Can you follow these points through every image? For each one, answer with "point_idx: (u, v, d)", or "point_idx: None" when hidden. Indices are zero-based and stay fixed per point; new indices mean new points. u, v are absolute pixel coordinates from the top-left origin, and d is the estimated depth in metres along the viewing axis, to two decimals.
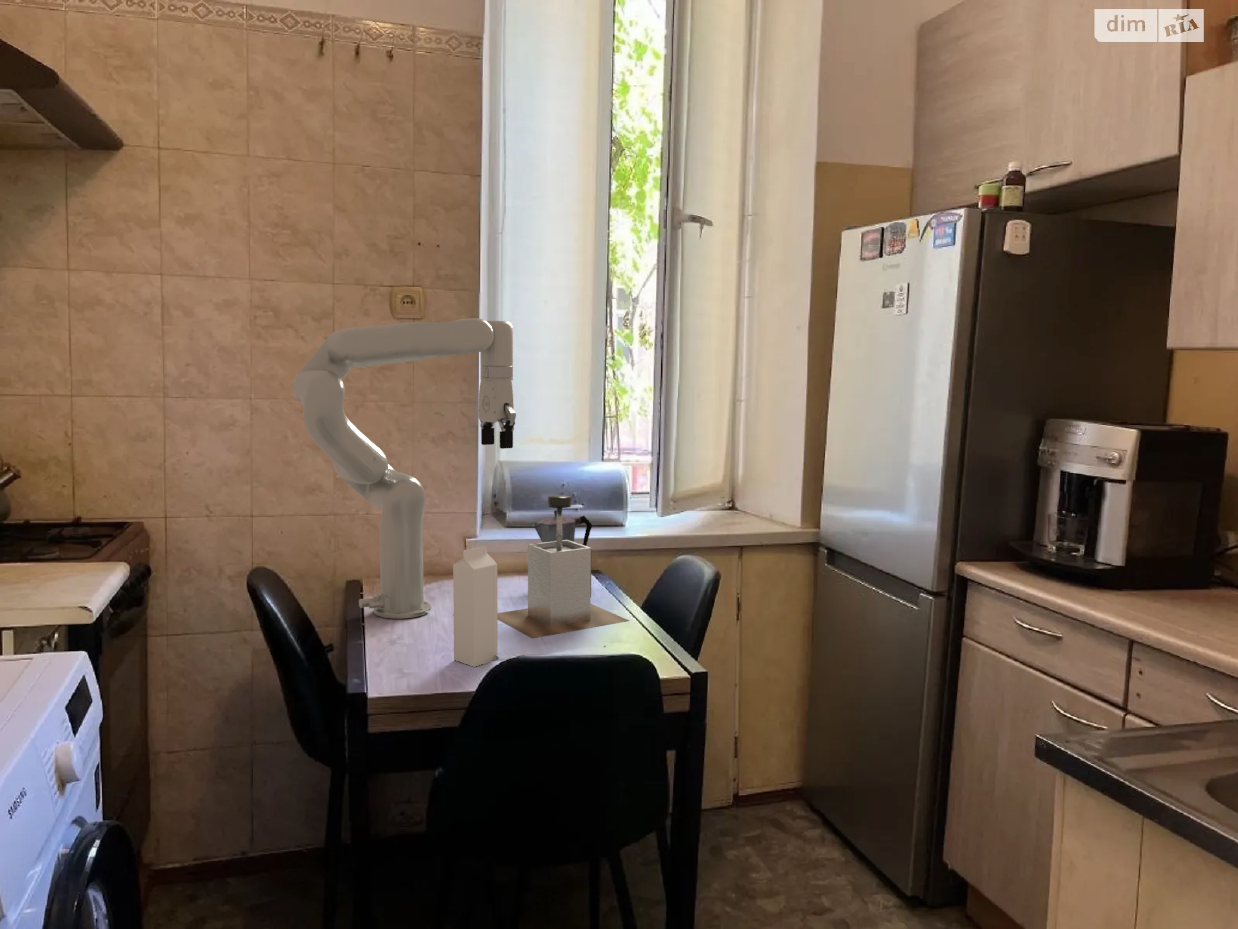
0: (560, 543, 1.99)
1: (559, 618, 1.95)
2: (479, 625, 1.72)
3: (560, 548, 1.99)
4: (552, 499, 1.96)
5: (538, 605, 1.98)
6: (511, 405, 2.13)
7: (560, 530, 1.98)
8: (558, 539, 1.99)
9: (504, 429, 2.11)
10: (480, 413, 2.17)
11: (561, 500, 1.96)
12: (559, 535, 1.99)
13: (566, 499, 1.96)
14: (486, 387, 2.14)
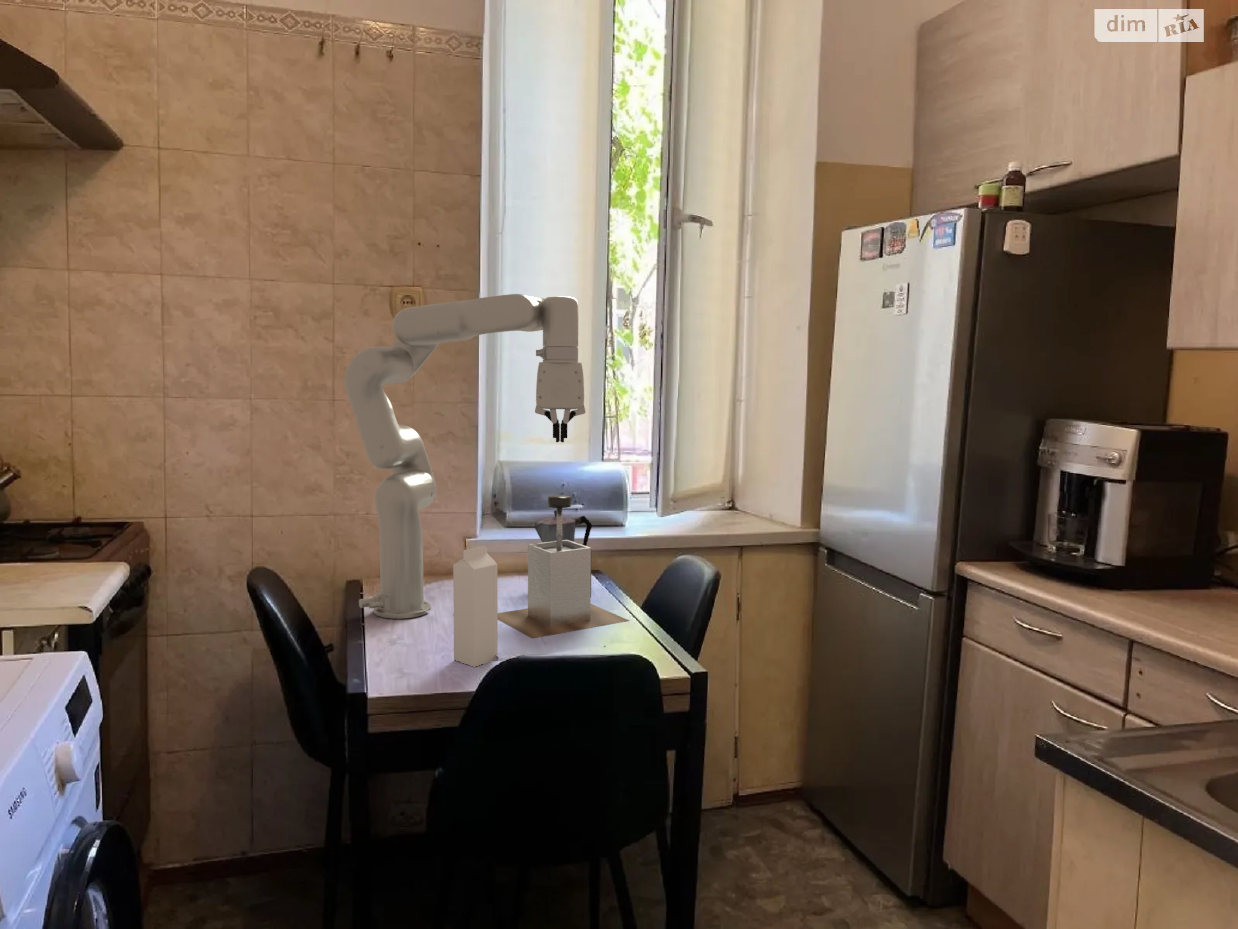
0: (560, 543, 1.99)
1: (559, 618, 1.95)
2: (479, 625, 1.72)
3: (560, 548, 1.99)
4: (552, 499, 1.96)
5: (538, 605, 1.98)
6: None
7: (560, 530, 1.98)
8: (558, 539, 1.99)
9: (567, 422, 1.95)
10: (545, 400, 1.93)
11: (561, 500, 1.96)
12: (559, 535, 1.99)
13: (566, 499, 1.96)
14: (559, 370, 1.92)
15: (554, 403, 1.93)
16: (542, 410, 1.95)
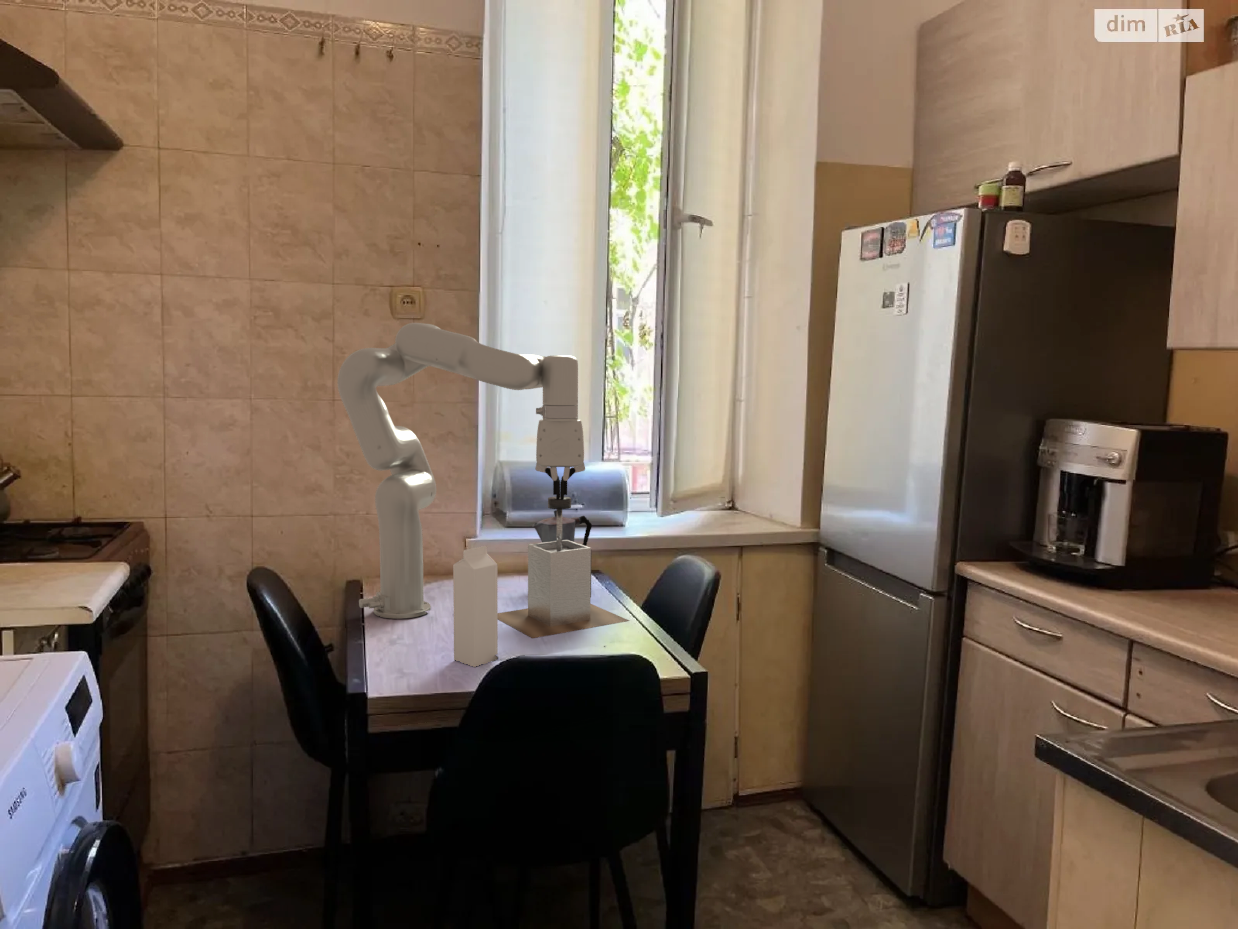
0: (560, 545, 1.99)
1: (559, 618, 1.95)
2: (479, 625, 1.72)
3: (560, 549, 1.99)
4: (552, 500, 1.96)
5: (538, 605, 1.98)
6: None
7: (560, 531, 1.98)
8: (558, 540, 1.99)
9: None
10: (545, 458, 1.94)
11: (561, 501, 1.96)
12: (559, 536, 1.99)
13: (566, 500, 1.96)
14: (559, 428, 1.94)
15: (554, 461, 1.94)
16: (542, 467, 1.97)
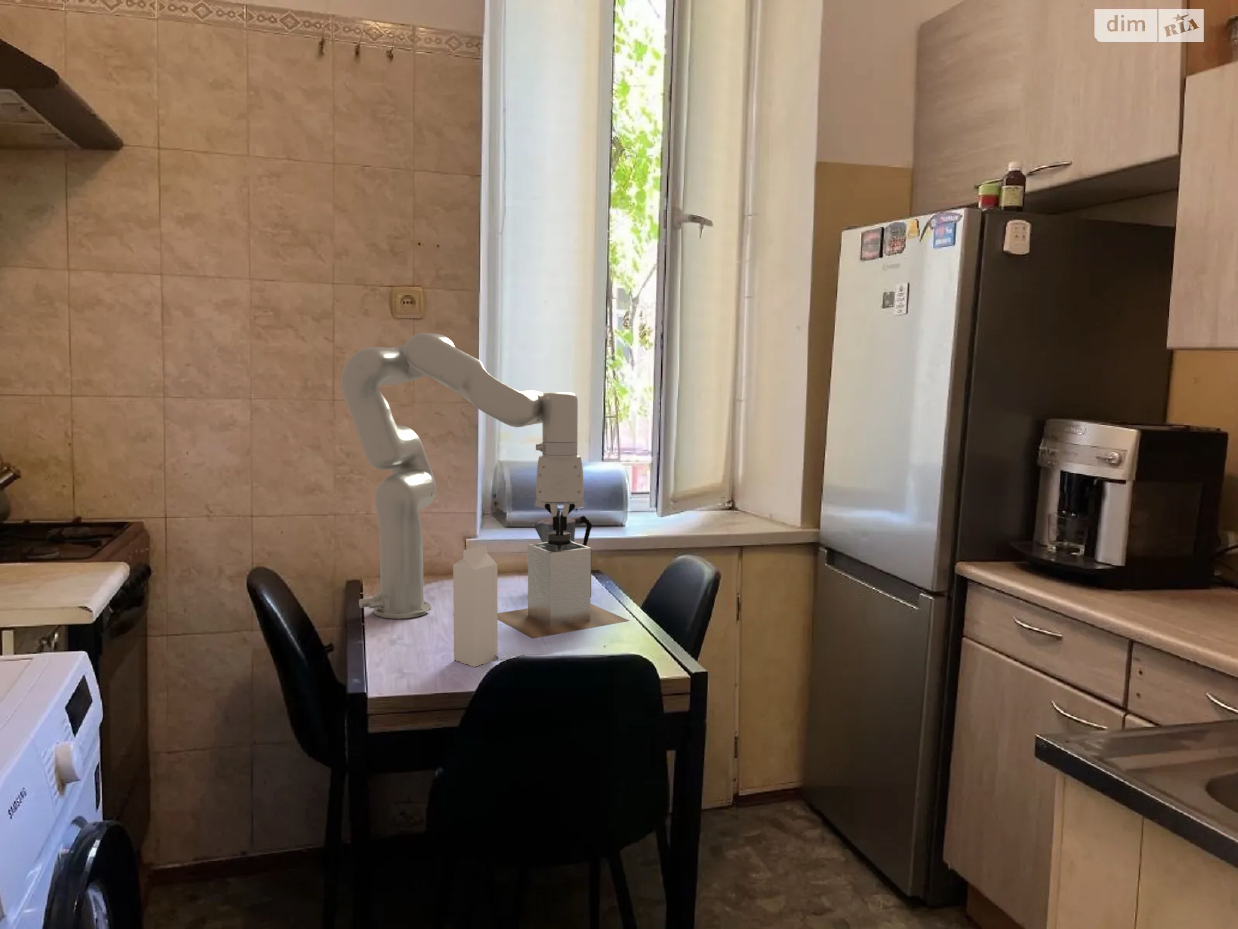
0: None
1: (559, 618, 1.95)
2: (479, 625, 1.72)
3: None
4: (552, 536, 1.97)
5: (538, 605, 1.98)
6: None
7: None
8: None
9: None
10: (544, 494, 1.95)
11: (561, 537, 1.97)
12: None
13: (566, 536, 1.97)
14: (559, 465, 1.94)
15: (554, 497, 1.95)
16: (542, 503, 1.98)
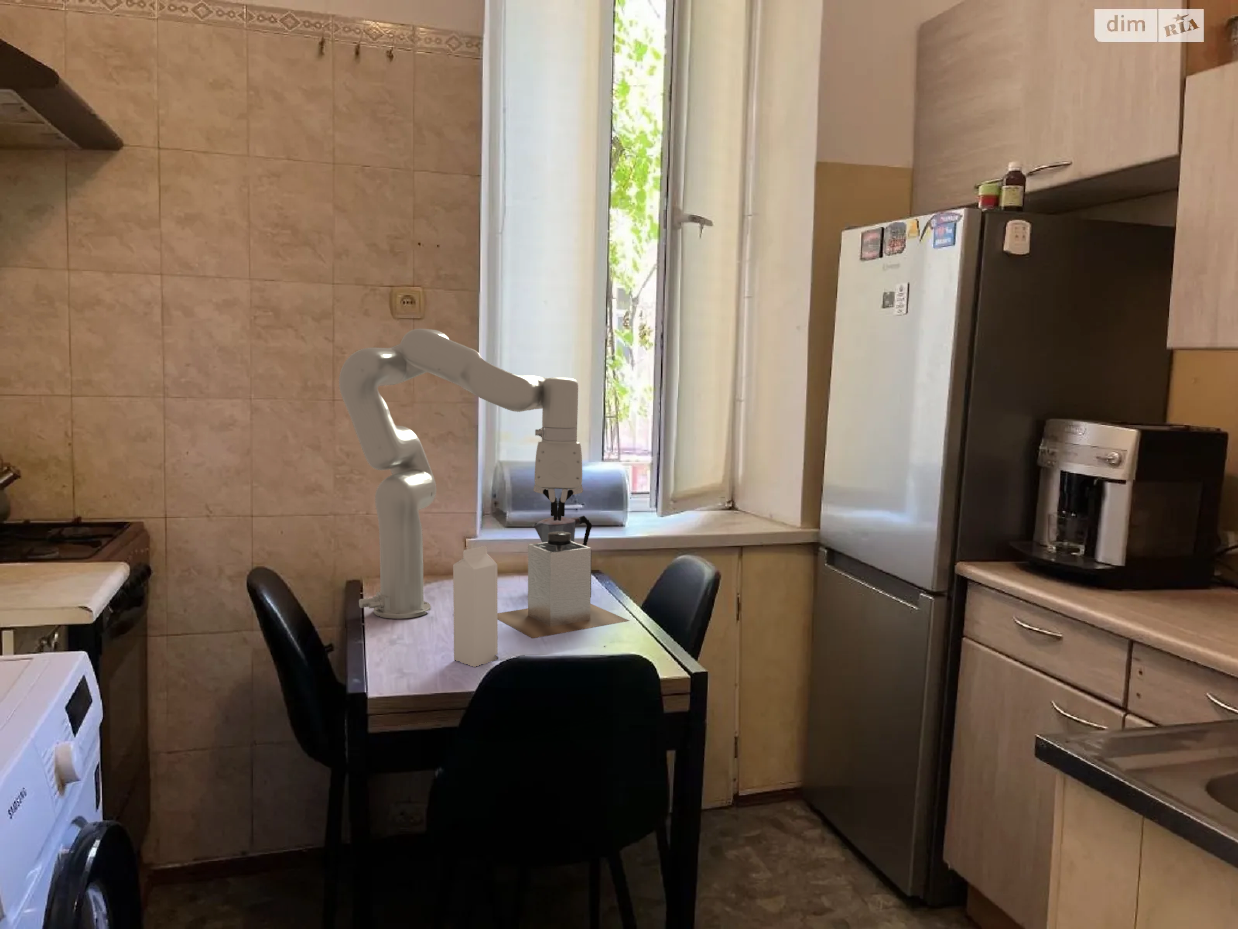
0: None
1: (559, 618, 1.95)
2: (479, 625, 1.72)
3: None
4: (552, 536, 1.97)
5: (538, 605, 1.98)
6: None
7: None
8: None
9: None
10: (543, 480, 1.95)
11: (561, 537, 1.97)
12: None
13: (566, 536, 1.97)
14: (558, 451, 1.94)
15: (552, 483, 1.95)
16: (540, 489, 1.97)
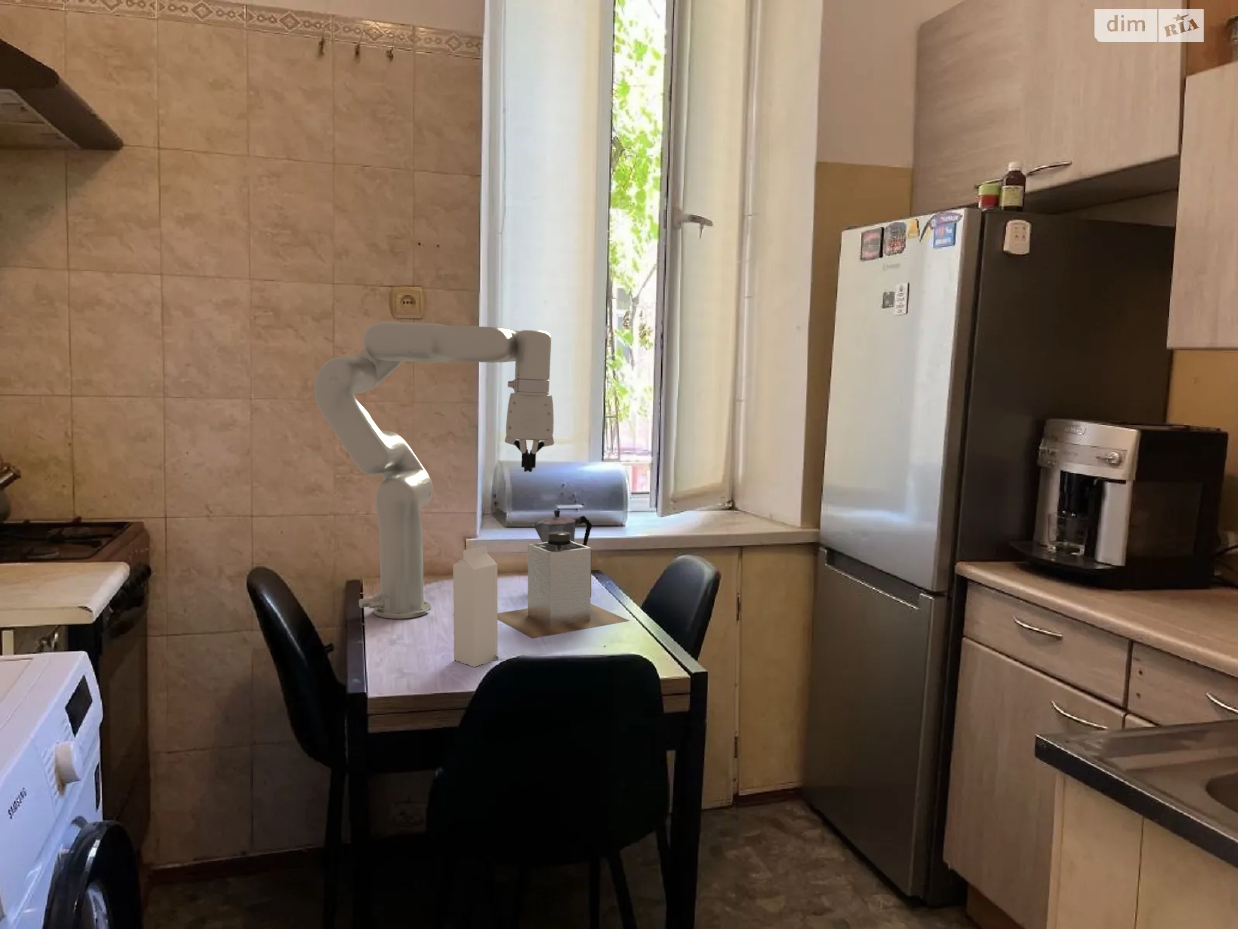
0: None
1: (559, 618, 1.95)
2: (479, 625, 1.72)
3: None
4: (552, 536, 1.97)
5: (538, 605, 1.98)
6: (553, 421, 2.02)
7: None
8: None
9: None
10: (514, 431, 1.98)
11: (561, 537, 1.97)
12: None
13: (566, 536, 1.97)
14: (530, 402, 1.97)
15: (523, 434, 1.98)
16: (512, 440, 2.00)
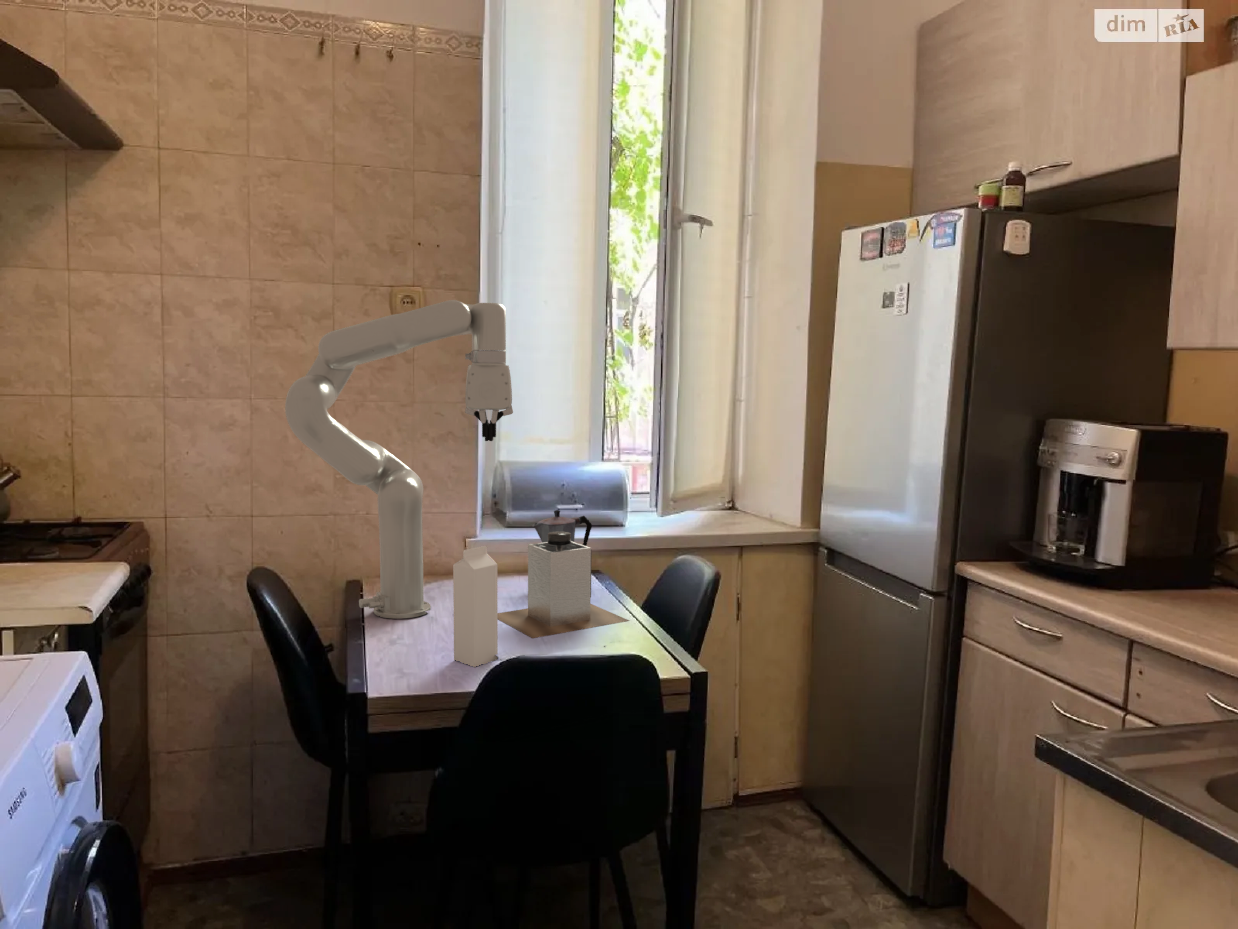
0: None
1: (559, 618, 1.95)
2: (479, 625, 1.72)
3: None
4: (552, 536, 1.97)
5: (538, 605, 1.98)
6: (511, 391, 2.07)
7: None
8: None
9: (495, 422, 2.06)
10: (473, 401, 2.03)
11: (561, 537, 1.97)
12: None
13: (566, 536, 1.97)
14: (487, 372, 2.03)
15: (482, 404, 2.03)
16: (472, 410, 2.06)
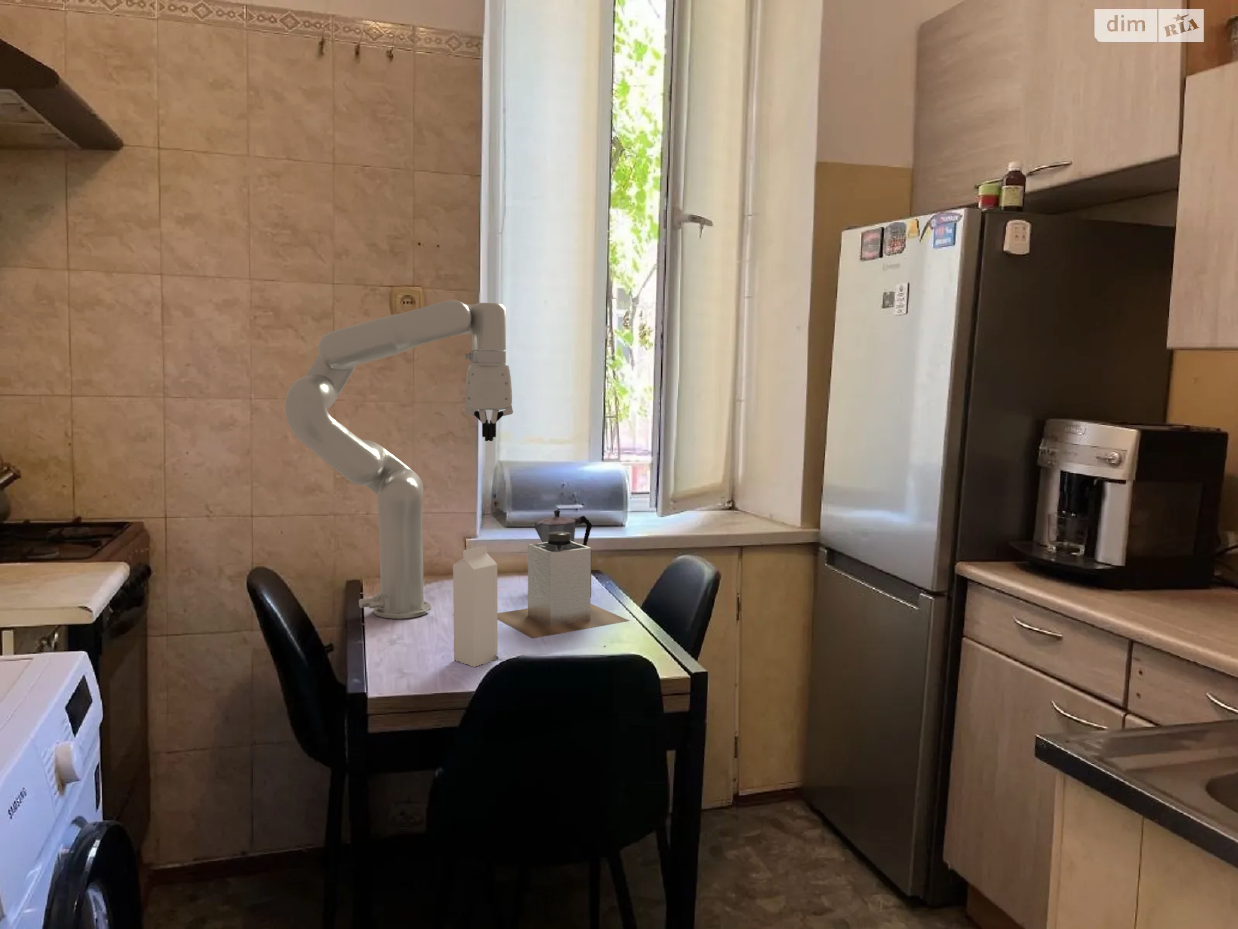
0: None
1: (559, 618, 1.95)
2: (479, 625, 1.72)
3: None
4: (552, 536, 1.97)
5: (538, 605, 1.98)
6: (511, 391, 2.07)
7: None
8: None
9: (495, 422, 2.06)
10: (473, 401, 2.03)
11: (561, 537, 1.97)
12: None
13: (566, 536, 1.97)
14: (487, 372, 2.03)
15: (482, 404, 2.03)
16: (472, 410, 2.06)
